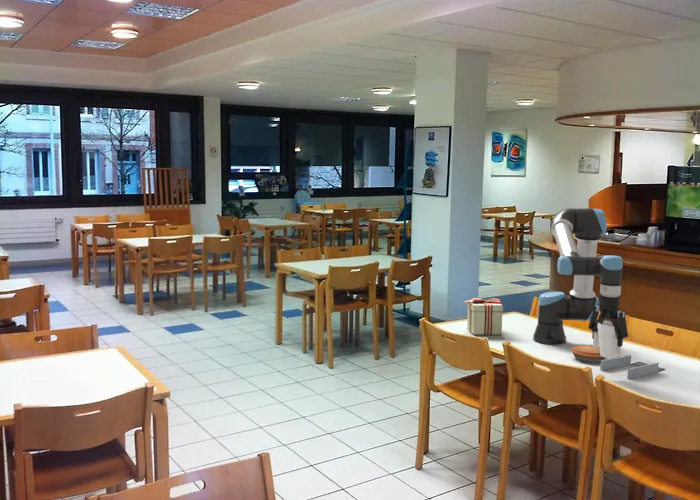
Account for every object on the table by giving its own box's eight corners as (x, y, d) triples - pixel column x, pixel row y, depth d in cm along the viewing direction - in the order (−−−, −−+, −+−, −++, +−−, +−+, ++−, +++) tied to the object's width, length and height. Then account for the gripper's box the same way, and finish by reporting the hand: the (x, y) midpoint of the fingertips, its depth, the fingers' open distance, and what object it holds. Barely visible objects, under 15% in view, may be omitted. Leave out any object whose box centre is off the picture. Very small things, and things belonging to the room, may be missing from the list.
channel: (600, 370, 267) (600, 360, 267) (628, 363, 276) (629, 354, 276) (629, 379, 255) (629, 369, 255) (657, 372, 264) (658, 363, 264)
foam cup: (591, 352, 262) (593, 321, 260) (611, 351, 264) (613, 320, 262) (605, 359, 253) (607, 327, 251) (626, 358, 255) (628, 326, 253)
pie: (562, 356, 287) (563, 345, 286) (589, 352, 293) (589, 341, 292) (588, 366, 273) (589, 354, 272) (616, 362, 279) (616, 350, 279)
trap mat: (630, 364, 275) (630, 363, 275) (639, 362, 278) (639, 361, 278) (656, 372, 265) (656, 371, 265) (665, 369, 268) (665, 369, 268)
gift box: (491, 326, 341) (492, 294, 339) (504, 335, 323) (506, 301, 320) (460, 327, 338) (461, 294, 336) (471, 336, 320) (472, 301, 318)
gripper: (580, 291, 262) (577, 345, 265) (628, 301, 243) (624, 359, 246) (593, 289, 266) (590, 342, 269) (641, 299, 247) (637, 356, 250)
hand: (606, 350), depth 258 cm, fingers closed on foam cup, 9 cm apart
